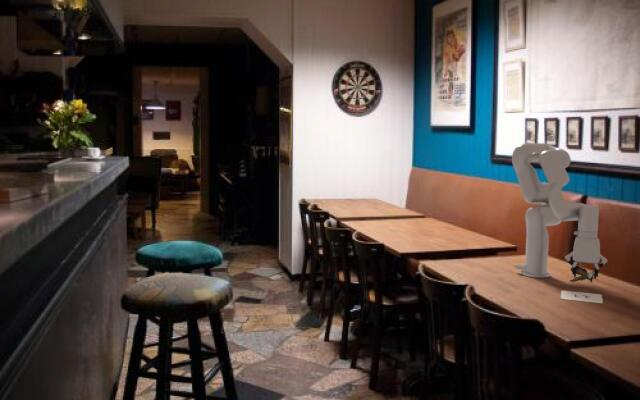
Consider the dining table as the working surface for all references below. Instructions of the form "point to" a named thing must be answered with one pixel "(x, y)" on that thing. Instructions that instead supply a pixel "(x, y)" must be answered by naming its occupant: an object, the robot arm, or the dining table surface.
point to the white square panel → (581, 296)
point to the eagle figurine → (582, 274)
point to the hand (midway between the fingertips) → (584, 277)
